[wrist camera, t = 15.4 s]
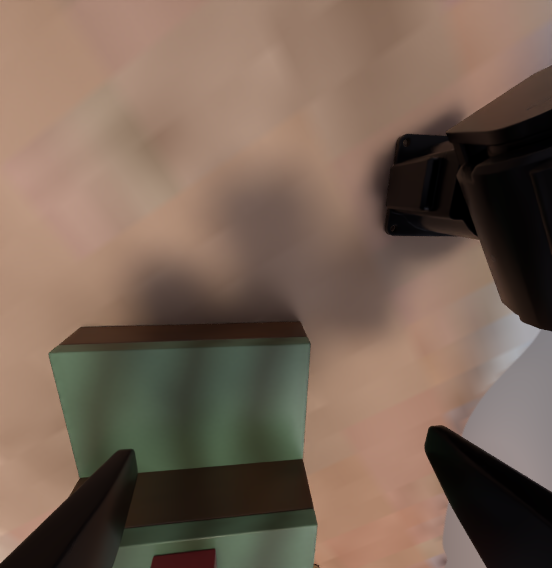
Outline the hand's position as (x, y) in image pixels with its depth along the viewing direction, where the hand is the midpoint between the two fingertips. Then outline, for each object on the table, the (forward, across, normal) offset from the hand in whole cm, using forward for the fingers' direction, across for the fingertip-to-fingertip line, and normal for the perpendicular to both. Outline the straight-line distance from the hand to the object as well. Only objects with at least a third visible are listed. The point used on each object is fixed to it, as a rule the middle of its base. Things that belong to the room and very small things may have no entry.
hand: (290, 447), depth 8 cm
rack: (+13, +5, +12) cm, 18 cm away
